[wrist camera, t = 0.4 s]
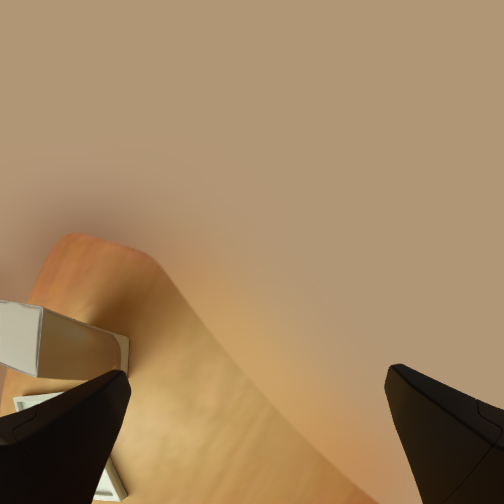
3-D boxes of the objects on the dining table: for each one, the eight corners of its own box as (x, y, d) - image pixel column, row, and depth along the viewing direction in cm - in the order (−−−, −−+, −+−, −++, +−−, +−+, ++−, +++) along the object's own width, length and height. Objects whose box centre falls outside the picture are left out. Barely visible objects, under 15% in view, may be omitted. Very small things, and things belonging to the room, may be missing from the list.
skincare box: (78, 371, 22) (-16, 357, 10) (81, 330, 23) (-10, 296, 12) (131, 382, 21) (35, 380, 10) (133, 336, 23) (41, 304, 12)
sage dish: (127, 496, 16) (120, 501, 15) (52, 487, 15) (44, 490, 14) (88, 389, 21) (78, 389, 19) (22, 397, 20) (13, 397, 18)
